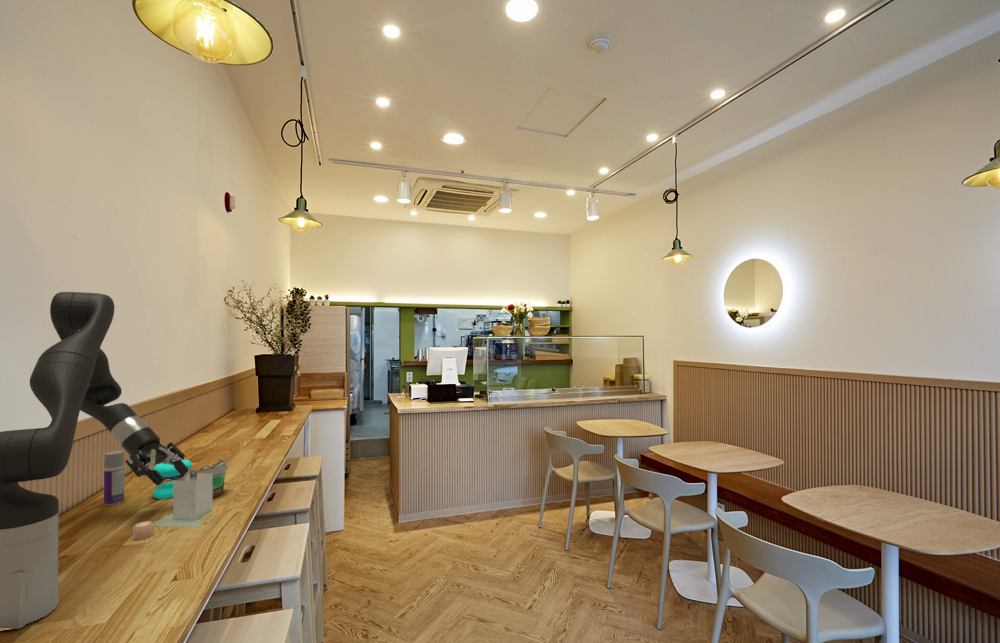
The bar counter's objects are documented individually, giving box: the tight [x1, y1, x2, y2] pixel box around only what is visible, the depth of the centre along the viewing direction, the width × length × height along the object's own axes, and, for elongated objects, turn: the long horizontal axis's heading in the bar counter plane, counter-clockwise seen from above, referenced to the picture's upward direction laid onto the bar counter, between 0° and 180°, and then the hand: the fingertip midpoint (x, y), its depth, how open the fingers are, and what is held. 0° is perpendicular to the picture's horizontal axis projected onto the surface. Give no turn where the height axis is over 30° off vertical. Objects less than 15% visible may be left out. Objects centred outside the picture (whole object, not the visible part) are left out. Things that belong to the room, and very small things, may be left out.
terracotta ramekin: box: [132, 520, 154, 541], centre depth 113 cm, size 4×4×4 cm
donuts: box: [152, 459, 193, 500], centre depth 144 cm, size 10×10×10 cm
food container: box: [187, 459, 229, 500], centre depth 140 cm, size 12×6×10 cm, turn 168°
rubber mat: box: [153, 505, 235, 528], centre depth 126 cm, size 14×14×1 cm
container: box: [103, 450, 125, 507], centre depth 137 cm, size 5×5×15 cm
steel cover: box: [172, 472, 213, 520], centre depth 126 cm, size 6×6×12 cm
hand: (174, 477), depth 126 cm, fingers open, 8 cm apart
